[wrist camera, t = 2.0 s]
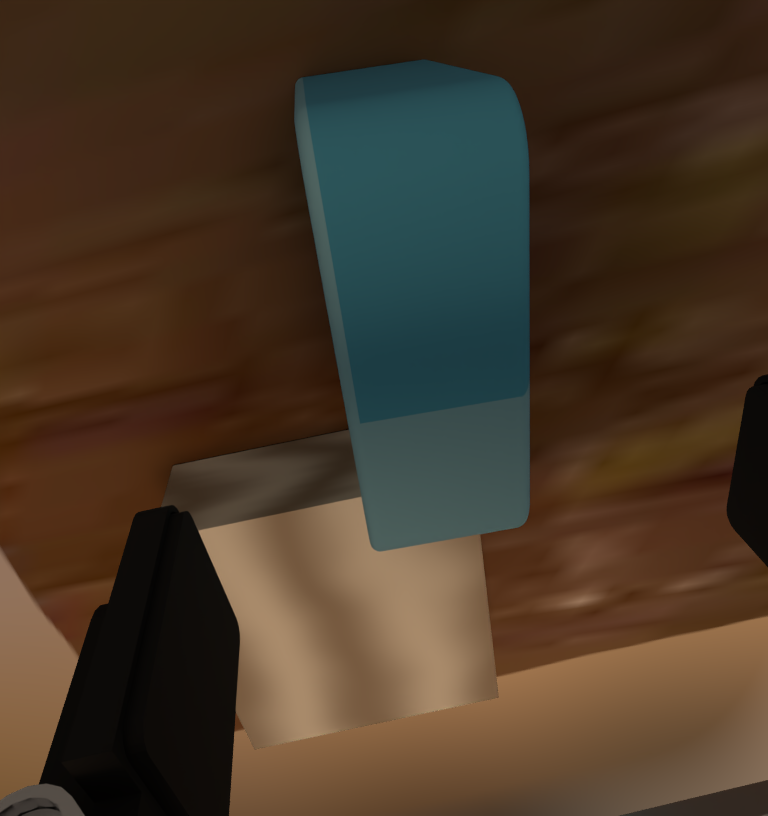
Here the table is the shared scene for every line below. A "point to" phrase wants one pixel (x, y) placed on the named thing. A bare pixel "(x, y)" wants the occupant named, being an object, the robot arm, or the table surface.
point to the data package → (425, 290)
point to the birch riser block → (333, 595)
